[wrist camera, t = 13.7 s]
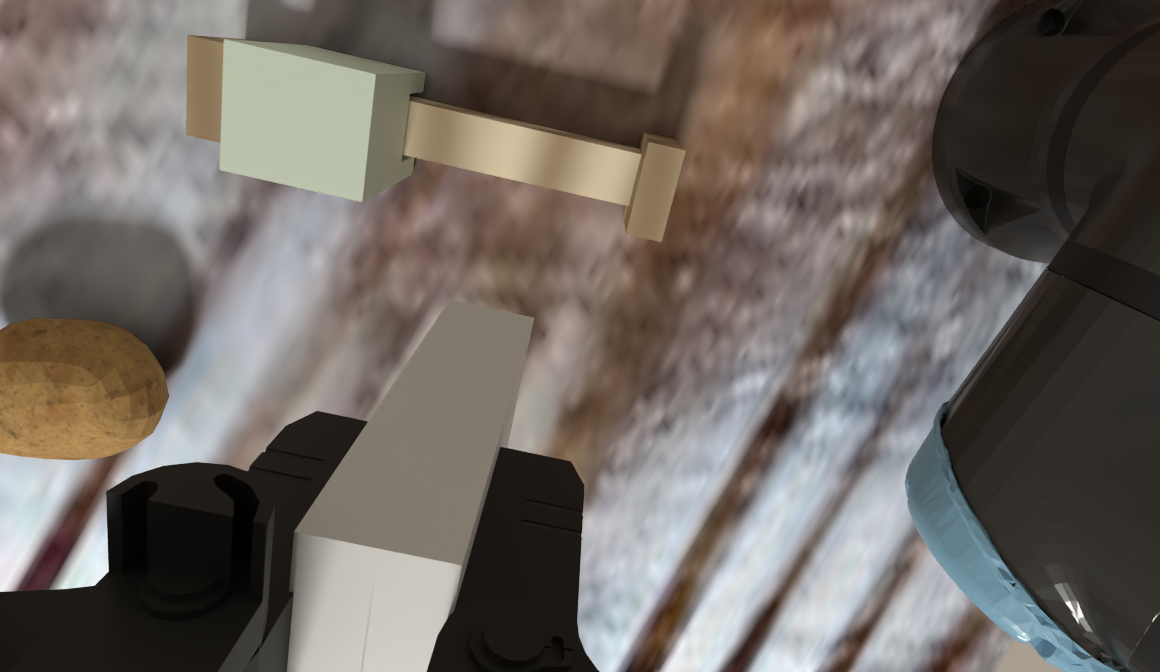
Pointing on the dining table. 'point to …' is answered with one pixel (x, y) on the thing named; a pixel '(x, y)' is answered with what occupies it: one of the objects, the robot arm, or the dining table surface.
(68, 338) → the potato
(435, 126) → the rail
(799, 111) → the dining table surface
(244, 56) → the block
